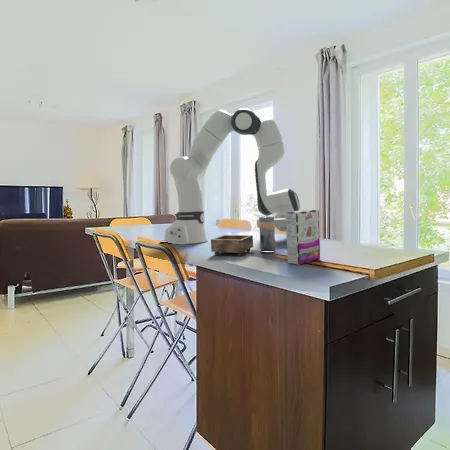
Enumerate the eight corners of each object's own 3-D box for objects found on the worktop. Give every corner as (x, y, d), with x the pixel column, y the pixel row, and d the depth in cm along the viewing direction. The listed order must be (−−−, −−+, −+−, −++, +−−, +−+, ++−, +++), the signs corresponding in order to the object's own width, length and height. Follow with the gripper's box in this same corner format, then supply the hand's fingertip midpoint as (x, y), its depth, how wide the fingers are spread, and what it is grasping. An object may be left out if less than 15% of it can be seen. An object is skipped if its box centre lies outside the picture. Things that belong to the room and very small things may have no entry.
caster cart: (211, 255, 131) (210, 239, 130) (224, 249, 142) (223, 234, 141) (242, 257, 126) (241, 240, 126) (253, 250, 137) (252, 235, 137)
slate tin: (258, 253, 133) (257, 218, 131) (262, 250, 138) (261, 216, 136) (273, 253, 130) (272, 218, 129) (276, 250, 135) (276, 216, 134)
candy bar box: (308, 257, 120) (307, 209, 119) (320, 259, 117) (319, 209, 115) (286, 263, 113) (284, 211, 112) (298, 265, 109) (297, 212, 108)
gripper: (261, 214, 160) (251, 217, 148) (307, 213, 152) (301, 216, 140) (262, 228, 161) (252, 232, 148) (308, 228, 153) (301, 232, 140)
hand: (276, 224), depth 144 cm, fingers open, 8 cm apart
